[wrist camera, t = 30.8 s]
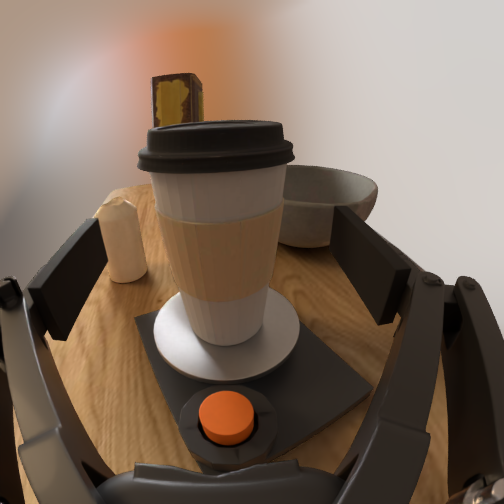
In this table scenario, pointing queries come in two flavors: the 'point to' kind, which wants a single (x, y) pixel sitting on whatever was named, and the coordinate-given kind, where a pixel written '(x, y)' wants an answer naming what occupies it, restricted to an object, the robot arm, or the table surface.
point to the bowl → (320, 202)
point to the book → (176, 99)
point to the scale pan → (227, 357)
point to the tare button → (227, 417)
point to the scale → (261, 401)
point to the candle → (122, 240)
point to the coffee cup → (219, 217)
